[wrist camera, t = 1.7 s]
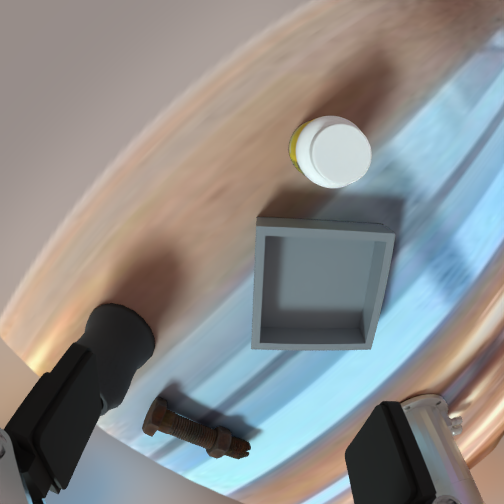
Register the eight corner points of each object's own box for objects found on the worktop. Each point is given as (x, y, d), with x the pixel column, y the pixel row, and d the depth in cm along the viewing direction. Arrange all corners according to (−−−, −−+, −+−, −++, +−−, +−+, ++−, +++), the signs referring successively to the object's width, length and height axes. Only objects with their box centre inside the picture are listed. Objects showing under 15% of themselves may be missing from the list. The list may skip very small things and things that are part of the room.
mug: (101, 288, 34) (50, 342, 23) (167, 331, 35) (137, 398, 25) (75, 352, 37) (36, 405, 27) (131, 387, 39) (103, 448, 28)
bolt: (243, 434, 44) (153, 397, 41) (259, 433, 40) (160, 393, 37) (233, 467, 40) (139, 432, 37) (248, 469, 36) (144, 431, 33)
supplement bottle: (278, 163, 29) (286, 173, 19) (301, 111, 27) (321, 96, 18) (330, 187, 29) (361, 208, 20) (354, 136, 28) (394, 135, 18)
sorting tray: (382, 224, 30) (395, 233, 27) (362, 331, 34) (370, 349, 31) (256, 216, 30) (256, 226, 27) (252, 330, 35) (251, 349, 31)
